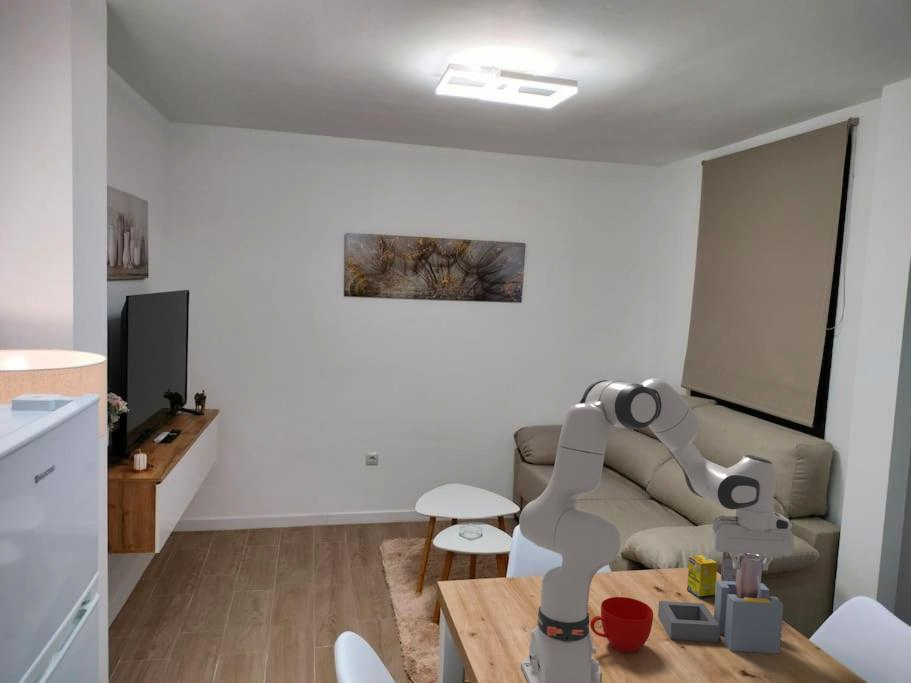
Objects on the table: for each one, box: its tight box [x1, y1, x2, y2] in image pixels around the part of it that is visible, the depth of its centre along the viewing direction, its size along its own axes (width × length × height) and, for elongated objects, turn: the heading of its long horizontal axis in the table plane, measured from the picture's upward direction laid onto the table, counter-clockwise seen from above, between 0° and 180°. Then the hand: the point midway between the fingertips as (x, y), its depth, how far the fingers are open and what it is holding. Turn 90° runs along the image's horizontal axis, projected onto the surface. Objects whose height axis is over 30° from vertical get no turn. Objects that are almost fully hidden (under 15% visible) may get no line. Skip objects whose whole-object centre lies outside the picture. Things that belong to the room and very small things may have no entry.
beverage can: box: [735, 553, 763, 599], centre depth 176 cm, size 6×6×15 cm
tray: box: [657, 600, 720, 643], centre depth 181 cm, size 12×12×4 cm
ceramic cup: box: [589, 596, 654, 654], centre depth 170 cm, size 13×17×10 cm
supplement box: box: [686, 554, 718, 600], centre depth 203 cm, size 6×6×11 cm
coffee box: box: [720, 552, 739, 582], centre depth 194 cm, size 9×6×16 cm
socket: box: [713, 580, 784, 655], centre depth 176 cm, size 12×12×13 cm
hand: (750, 569), depth 175 cm, fingers closed on beverage can, 6 cm apart
